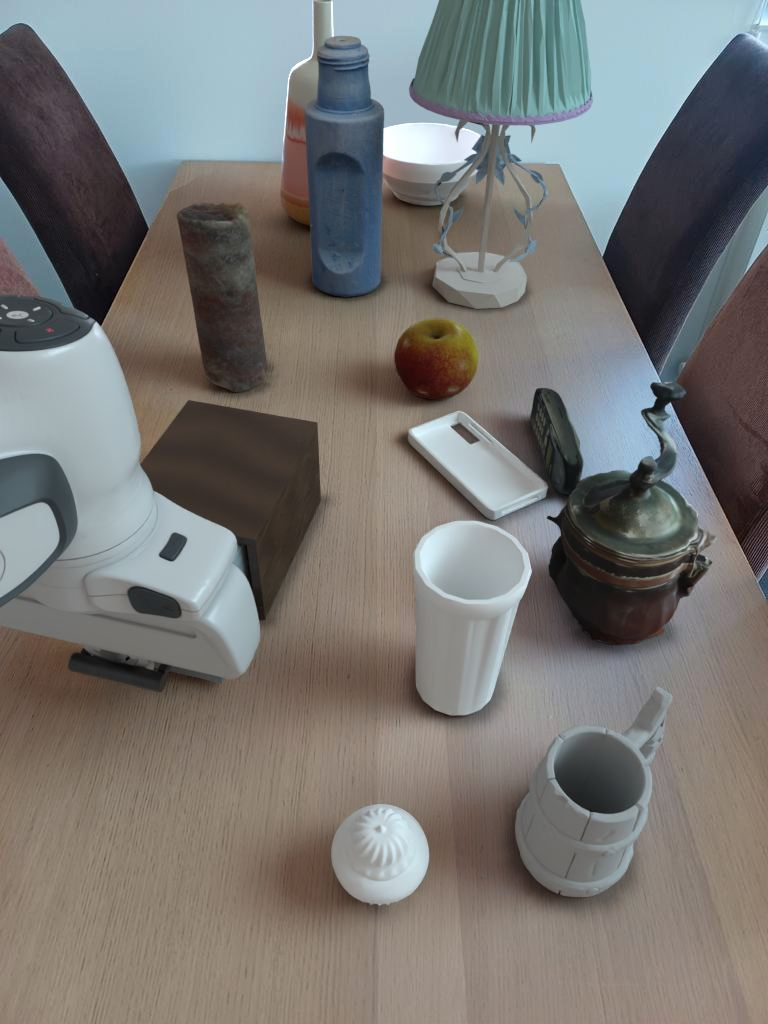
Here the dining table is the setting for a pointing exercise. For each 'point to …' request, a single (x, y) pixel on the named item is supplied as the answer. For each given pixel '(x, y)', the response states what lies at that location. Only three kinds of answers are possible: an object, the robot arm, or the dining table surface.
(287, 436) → the cabinet
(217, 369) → the dark brown hollow tube
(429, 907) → the dining table surface
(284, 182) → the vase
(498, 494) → the phone case
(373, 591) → the dining table surface
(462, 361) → the fruit
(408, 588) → the dining table surface
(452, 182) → the bowl
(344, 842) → the muffin
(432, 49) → the table lamp
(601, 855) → the mug
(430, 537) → the cup
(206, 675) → the drawer
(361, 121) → the bottle
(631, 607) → the coffee grinder
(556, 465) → the mobile phone
